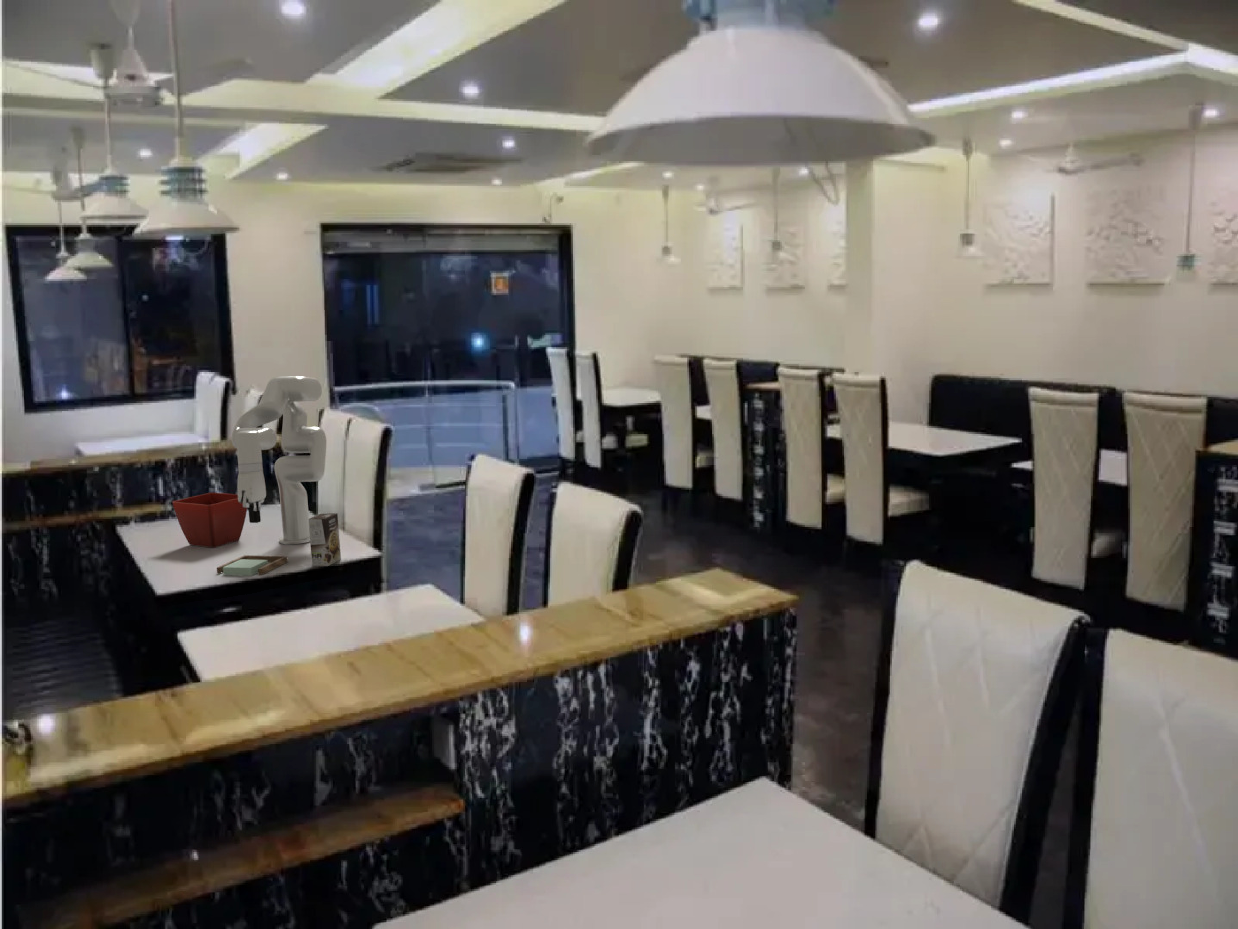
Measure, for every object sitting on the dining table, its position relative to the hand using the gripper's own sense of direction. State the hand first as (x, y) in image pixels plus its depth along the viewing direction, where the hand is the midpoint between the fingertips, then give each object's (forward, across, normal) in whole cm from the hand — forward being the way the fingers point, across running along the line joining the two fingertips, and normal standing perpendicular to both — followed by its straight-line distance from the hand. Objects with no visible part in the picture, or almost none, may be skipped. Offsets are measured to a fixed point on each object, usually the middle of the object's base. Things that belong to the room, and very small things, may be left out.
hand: (255, 522), depth 334 cm
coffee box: (+15, -6, +22) cm, 27 cm away
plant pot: (+14, -28, -35) cm, 47 cm away
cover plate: (+15, +7, 0) cm, 17 cm away
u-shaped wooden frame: (+15, +3, 0) cm, 15 cm away
